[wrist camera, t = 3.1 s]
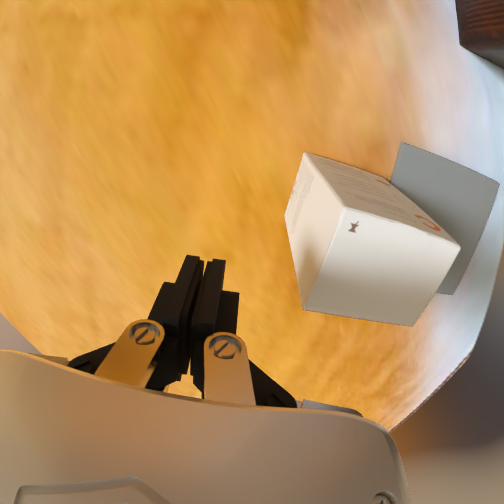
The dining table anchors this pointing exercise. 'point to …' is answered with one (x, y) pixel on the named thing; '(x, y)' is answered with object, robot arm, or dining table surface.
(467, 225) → the mat
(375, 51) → the dining table surface
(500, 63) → the manual coffee grinder
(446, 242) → the small box
